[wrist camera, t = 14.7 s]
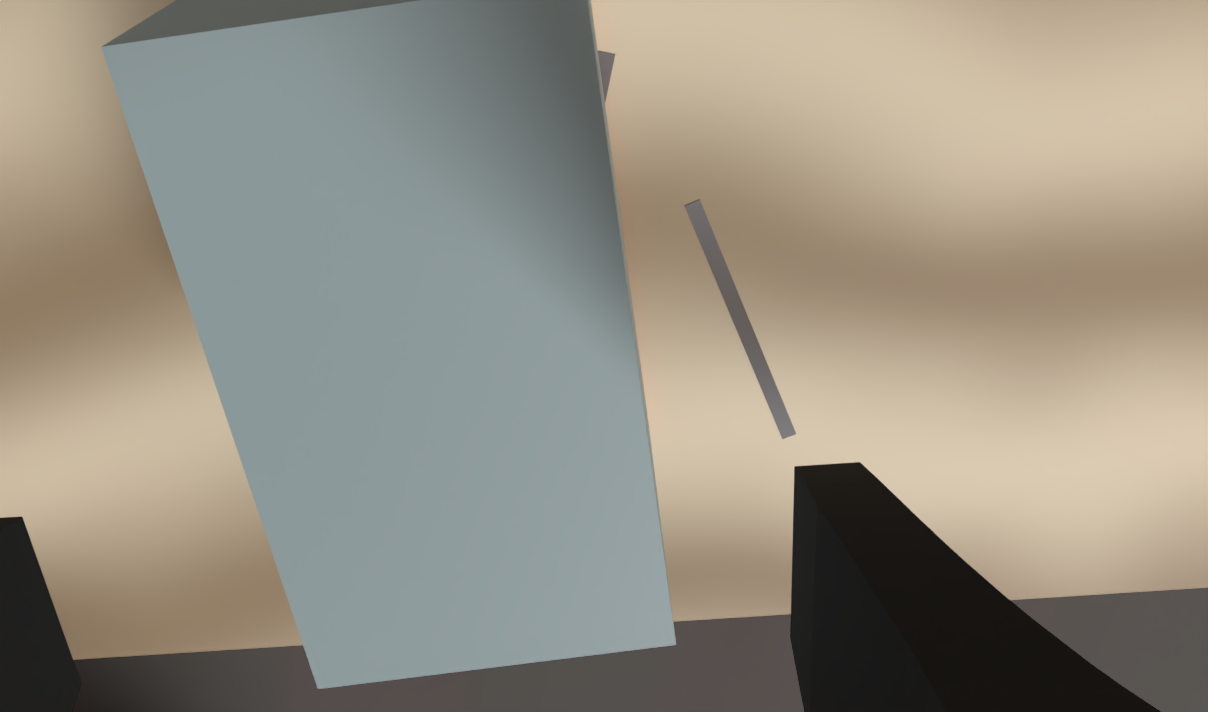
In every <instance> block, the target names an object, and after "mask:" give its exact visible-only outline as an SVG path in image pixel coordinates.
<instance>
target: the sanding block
mask: <svg viewBox="0 0 1208 712" xmlns="http://www.w3.org/2000/svg"><path fill="white" fill-rule="evenodd" d="M101 48H102V51H103V54H104V57H105V60H106V63H107V66H108V69H109V72H110V75H111V78H112V81H113V84H114V86H115V89H116V92H117V95H118V98H119V101H120V104H121V107H122V110H123V113H124V116H125V119H126V122H127V125H128V128H129V131H130V134H131V137H132V140H133V143H134V146H135V149H136V152H137V155H138V158H139V161H140V163H141V166H142V169H143V172H144V175H145V178H146V181H147V184H148V187H149V190H150V193H151V196H152V199H153V202H154V205H155V208H156V211H157V214H158V217H159V220H160V223H161V226H162V229H163V232H164V235H165V238H166V240H167V243H168V246H169V249H170V252H171V255H172V258H173V261H174V264H175V267H176V270H177V273H178V276H179V279H180V282H181V285H182V288H183V291H184V294H185V297H186V300H187V303H188V306H189V309H190V312H191V315H192V317H193V320H194V323H195V326H196V329H197V332H198V335H199V338H200V341H201V344H202V347H203V350H204V353H205V356H206V359H207V362H208V365H209V368H210V371H211V374H212V377H213V380H214V383H215V386H216V389H217V392H218V394H219V397H220V400H221V403H222V406H223V409H224V412H225V415H226V418H227V421H228V424H229V427H230V430H231V433H232V436H233V439H234V442H235V445H236V448H237V451H238V454H239V457H240V460H241V463H242V466H243V469H244V471H245V474H246V477H247V480H248V483H249V486H250V489H251V492H252V495H253V498H254V501H255V504H256V507H257V510H258V513H259V516H260V519H261V522H262V525H263V528H264V531H265V534H266V537H267V540H268V543H269V546H270V548H271V551H272V554H273V557H274V560H275V563H276V566H277V569H278V572H279V575H280V578H281V581H282V584H283V587H284V590H285V593H286V596H287V599H288V602H289V605H290V608H291V611H292V614H293V617H294V620H295V623H296V625H297V628H298V631H299V634H300V637H301V640H302V643H303V646H304V649H305V652H306V655H307V658H308V661H309V664H310V667H311V670H312V673H313V676H314V679H315V682H316V685H317V688H318V689H322V688H331V687H339V686H347V685H355V684H363V683H371V682H379V681H387V680H395V679H403V678H411V677H419V676H427V675H436V674H444V673H452V672H460V671H468V670H476V669H484V668H492V667H500V666H508V665H516V664H524V663H533V662H541V661H549V660H557V659H565V658H573V657H581V656H589V655H597V654H605V653H613V652H621V651H630V650H638V649H646V648H654V647H662V646H670V645H676V640H675V632H674V624H673V616H672V608H671V600H670V592H669V584H668V575H667V567H666V559H665V551H664V543H663V535H662V527H661V519H660V511H659V503H658V495H657V487H656V479H655V471H654V463H653V455H652V446H651V438H650V431H649V423H648V416H647V409H646V401H645V394H644V387H643V379H642V372H641V365H640V357H639V350H638V342H637V335H636V328H635V320H634V313H633V306H632V298H631V291H630V284H629V276H628V269H627V262H626V254H625V247H624V240H623V232H622V225H621V218H620V210H619V203H618V196H617V188H616V181H615V174H614V166H613V159H612V152H611V144H610V137H609V130H608V122H607V115H606V108H605V100H604V93H603V86H602V78H601V71H600V64H599V56H598V49H597V42H596V34H595V27H594V20H593V12H592V5H591V0H176V1H174V2H172V3H171V4H169V5H168V6H166V7H164V8H163V9H161V10H160V11H158V12H156V13H155V14H153V15H152V16H150V17H148V18H147V19H145V20H143V21H142V22H140V23H139V24H137V25H135V26H134V27H132V28H131V29H129V30H127V31H126V32H124V33H123V34H121V35H119V36H118V37H116V38H114V39H113V40H111V41H110V42H108V43H106V44H105V45H103V46H102V47H101Z"/></svg>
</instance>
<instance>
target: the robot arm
mask: <svg viewBox="0 0 1208 712" xmlns="http://www.w3.org/2000/svg"><path fill="white" fill-rule="evenodd" d="M790 638H791V643H792V649H793V654H794V659H795V665H796V670H797V675H798V681H799V686H800V692H801V696H802V701H803V706H804V711H805V712H1160V711H1159V710H1157V709H1156V708H1154V707H1153V706H1151V705H1150V704H1148V703H1147V702H1145V701H1144V700H1142V699H1141V698H1139V697H1138V696H1136V695H1135V694H1133V693H1132V692H1130V691H1129V690H1127V689H1126V688H1124V687H1123V686H1121V685H1120V684H1118V683H1117V682H1116V681H1114V680H1113V679H1111V678H1110V677H1109V676H1107V675H1106V674H1104V673H1103V672H1102V671H1100V670H1099V669H1097V668H1096V667H1095V666H1093V665H1092V664H1090V663H1089V662H1088V661H1086V660H1085V659H1084V658H1082V657H1081V656H1080V655H1079V654H1077V653H1076V652H1075V651H1073V650H1072V649H1071V648H1070V647H1068V646H1067V645H1066V644H1064V643H1063V642H1062V641H1060V640H1059V639H1058V638H1057V637H1055V636H1054V635H1053V634H1051V633H1050V632H1049V631H1048V630H1046V629H1045V628H1044V627H1042V626H1041V625H1040V624H1038V623H1037V622H1036V621H1035V620H1033V619H1032V618H1031V617H1030V616H1028V615H1027V614H1026V613H1025V612H1023V611H1022V610H1021V609H1020V608H1019V607H1017V606H1016V605H1015V604H1014V603H1013V602H1011V601H1010V600H1009V599H1008V598H1007V597H1005V596H1004V595H1003V594H1002V593H1001V592H1000V591H999V590H997V589H996V588H995V587H994V586H993V585H992V584H991V583H989V582H988V581H987V580H986V579H985V578H984V577H983V576H981V575H980V574H979V573H978V572H977V571H976V570H975V569H973V568H972V567H971V566H970V565H969V564H968V563H967V562H965V561H964V560H963V559H962V558H961V557H960V556H959V555H958V554H957V553H956V552H954V551H953V550H952V549H951V548H950V547H949V546H948V545H947V544H946V543H945V542H944V541H943V540H941V539H940V538H939V537H938V536H937V535H936V534H935V533H934V532H933V531H932V530H931V529H930V528H929V527H928V526H927V525H926V524H924V523H923V522H922V521H921V520H920V519H919V518H918V517H917V516H916V515H915V514H914V513H913V512H912V511H911V510H910V509H909V508H908V507H907V506H906V505H905V504H904V503H903V502H902V501H900V500H899V499H898V498H897V497H896V496H895V495H894V494H893V493H892V492H891V491H890V490H889V489H888V488H887V487H886V486H885V485H884V484H883V483H882V482H881V481H880V480H879V479H878V478H877V477H875V476H874V475H873V474H872V473H871V472H870V471H869V470H868V469H867V468H866V467H865V466H864V465H863V464H861V463H860V462H854V463H838V464H823V465H807V466H794V505H793V547H792V588H791V630H790ZM80 686H81V680H80V678H79V675H78V672H77V669H76V666H75V664H74V661H73V658H72V655H71V652H70V649H69V647H68V644H67V641H66V638H65V635H64V633H63V630H62V627H61V624H60V621H59V618H58V616H57V613H56V610H55V607H54V604H53V602H52V599H51V596H50V593H49V590H48V588H47V585H46V582H45V579H44V576H43V573H42V571H41V568H40V565H39V562H38V559H37V557H36V554H35V551H34V548H33V545H32V543H31V540H30V537H29V534H28V531H27V528H26V526H25V523H24V520H23V517H22V516H21V517H5V518H0V712H73V709H74V705H75V702H76V699H77V696H78V693H79V689H80Z"/></svg>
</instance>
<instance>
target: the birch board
mask: <svg viewBox="0 0 1208 712" xmlns="http://www.w3.org/2000/svg"><path fill="white" fill-rule="evenodd" d="M174 1H176V0H0V518H5V517H21V516H22V517H23V520H24V523H25V526H26V528H27V531H28V534H29V537H30V540H31V543H32V545H33V548H34V551H35V554H36V557H37V559H38V562H39V565H40V568H41V571H42V573H43V576H44V579H45V582H46V585H47V588H48V590H49V593H50V596H51V599H52V602H53V604H54V607H55V610H56V613H57V616H58V618H59V621H60V624H61V627H62V630H63V633H64V635H65V638H66V641H67V644H68V647H69V649H70V652H71V655H72V658H73V660H77V659H93V658H108V657H124V656H140V655H155V654H171V653H187V652H202V651H218V650H234V649H249V648H265V647H281V646H296V645H303V643H302V640H301V637H300V634H299V631H298V628H297V625H296V623H295V620H294V617H293V614H292V611H291V608H290V605H289V602H288V599H287V596H286V593H285V590H284V587H283V584H282V581H281V578H280V575H279V572H278V569H277V566H276V563H275V560H274V557H273V554H272V551H271V548H270V546H269V543H268V540H267V537H266V534H265V531H264V528H263V525H262V522H261V519H260V516H259V513H258V510H257V507H256V504H255V501H254V498H253V495H252V492H251V489H250V486H249V483H248V480H247V477H246V474H245V471H244V469H243V466H242V463H241V460H240V457H239V454H238V451H237V448H236V445H235V442H234V439H233V436H232V433H231V430H230V427H229V424H228V421H227V418H226V415H225V412H224V409H223V406H222V403H221V400H220V397H219V394H218V392H217V389H216V386H215V383H214V380H213V377H212V374H211V371H210V368H209V365H208V362H207V359H206V356H205V353H204V350H203V347H202V344H201V341H200V338H199V335H198V332H197V329H196V326H195V323H194V320H193V317H192V315H191V312H190V309H189V306H188V303H187V300H186V297H185V294H184V291H183V288H182V285H181V282H180V279H179V276H178V273H177V270H176V267H175V264H174V261H173V258H172V255H171V252H170V249H169V246H168V243H167V240H166V238H165V235H164V232H163V229H162V226H161V223H160V220H159V217H158V214H157V211H156V208H155V205H154V202H153V199H152V196H151V193H150V190H149V187H148V184H147V181H146V178H145V175H144V172H143V169H142V166H141V163H140V161H139V158H138V155H137V152H136V149H135V146H134V143H133V140H132V137H131V134H130V131H129V128H128V125H127V122H126V119H125V116H124V113H123V110H122V107H121V104H120V101H119V98H118V95H117V92H116V89H115V86H114V84H113V81H112V78H111V75H110V72H109V69H108V66H107V63H106V60H105V57H104V54H103V51H102V48H101V47H102V46H103V45H105V44H106V43H108V42H110V41H111V40H113V39H114V38H116V37H118V36H119V35H121V34H123V33H124V32H126V31H127V30H129V29H131V28H132V27H134V26H135V25H137V24H139V23H140V22H142V21H143V20H145V19H147V18H148V17H150V16H152V15H153V14H155V13H156V12H158V11H160V10H161V9H163V8H164V7H166V6H168V5H169V4H171V3H172V2H174ZM591 5H592V12H593V20H594V27H595V34H596V42H597V49H598V56H599V64H600V71H601V78H602V86H603V93H604V100H605V108H606V115H607V122H608V130H609V137H610V144H611V152H612V159H613V166H614V174H615V181H616V188H617V196H618V203H619V210H620V218H621V225H622V232H623V240H624V247H625V254H626V262H627V269H628V276H629V284H630V291H631V298H632V306H633V313H634V320H635V328H636V335H637V342H638V350H639V357H640V365H641V372H642V379H643V387H644V394H645V401H646V409H647V416H648V423H649V431H650V438H651V446H652V455H653V463H654V471H655V479H656V487H657V495H658V503H659V511H660V519H661V527H662V535H663V543H664V551H665V559H666V567H667V575H668V584H669V592H670V600H671V608H672V616H673V621H689V620H704V619H720V618H736V617H751V616H767V615H783V614H791V588H792V547H793V505H794V466H807V465H823V464H838V463H854V462H860V463H861V464H863V465H864V466H865V467H866V468H867V469H868V470H869V471H870V472H871V473H872V474H873V475H874V476H875V477H877V478H878V479H879V480H880V481H881V482H882V483H883V484H884V485H885V486H886V487H887V488H888V489H889V490H890V491H891V492H892V493H893V494H894V495H895V496H896V497H897V498H898V499H899V500H900V501H902V502H903V503H904V504H905V505H906V506H907V507H908V508H909V509H910V510H911V511H912V512H913V513H914V514H915V515H916V516H917V517H918V518H919V519H920V520H921V521H922V522H923V523H924V524H926V525H927V526H928V527H929V528H930V529H931V530H932V531H933V532H934V533H935V534H936V535H937V536H938V537H939V538H940V539H941V540H943V541H944V542H945V543H946V544H947V545H948V546H949V547H950V548H951V549H952V550H953V551H954V552H956V553H957V554H958V555H959V556H960V557H961V558H962V559H963V560H964V561H965V562H967V563H968V564H969V565H970V566H971V567H972V568H973V569H975V570H976V571H977V572H978V573H979V574H980V575H981V576H983V577H984V578H985V579H986V580H987V581H988V582H989V583H991V584H992V585H993V586H994V587H995V588H996V589H997V590H999V591H1000V592H1001V593H1002V594H1003V595H1004V596H1005V597H1007V598H1008V599H1009V600H1018V599H1034V598H1049V597H1065V596H1081V595H1096V594H1112V593H1128V592H1143V591H1159V590H1175V589H1190V588H1206V587H1208V0H591Z"/></svg>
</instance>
